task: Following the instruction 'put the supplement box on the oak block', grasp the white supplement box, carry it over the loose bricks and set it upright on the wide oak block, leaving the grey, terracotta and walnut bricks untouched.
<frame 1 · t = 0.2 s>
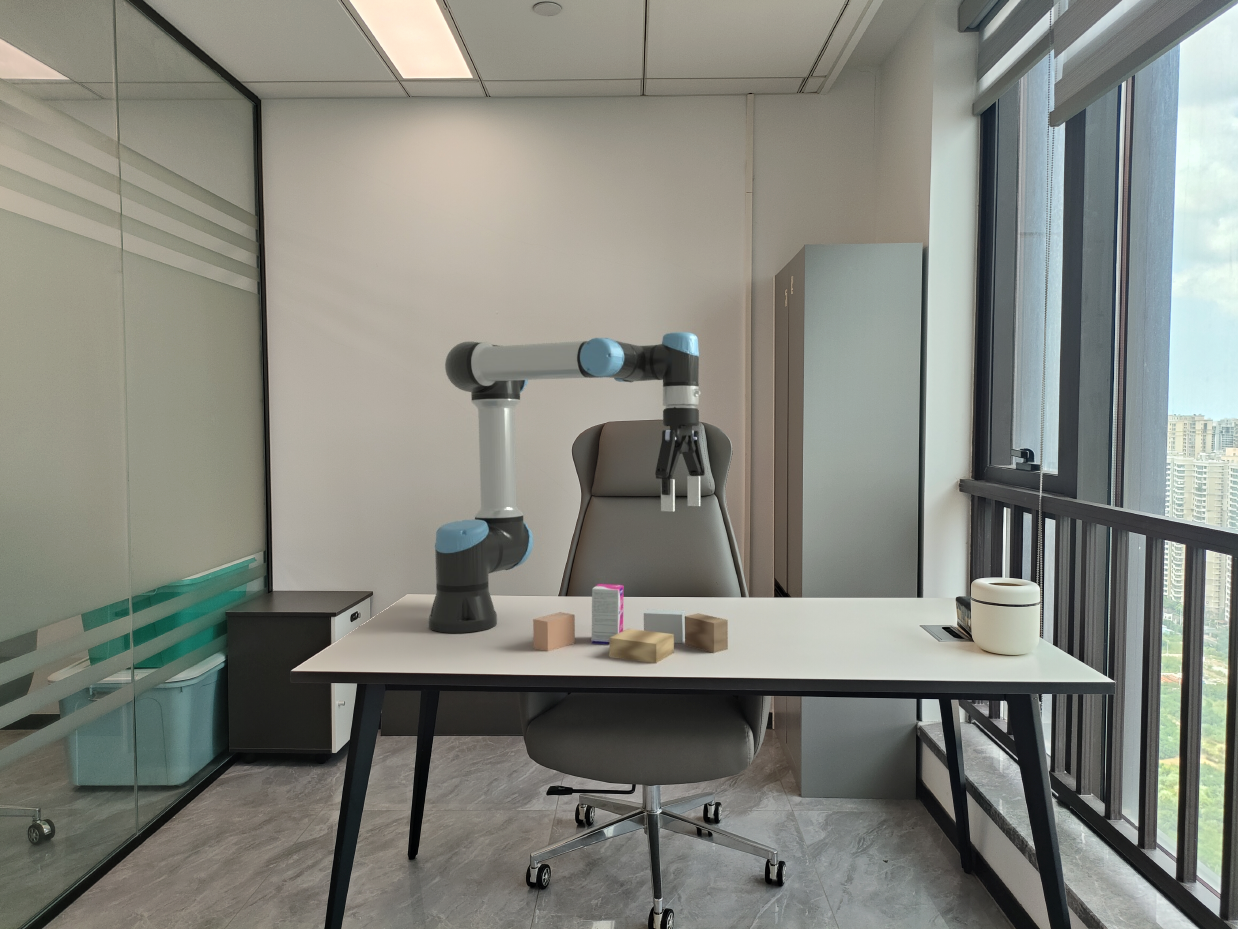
hand: (681, 508, 164), 27 cm above the table, fingers open, 13 cm apart
terracotta brick: (554, 646, 159), on the table
oak block: (641, 656, 152), on the table
grey painted brick: (664, 640, 163), on the table
supplement box: (607, 642, 162), on the table
walnut brick: (706, 647, 157), on the table
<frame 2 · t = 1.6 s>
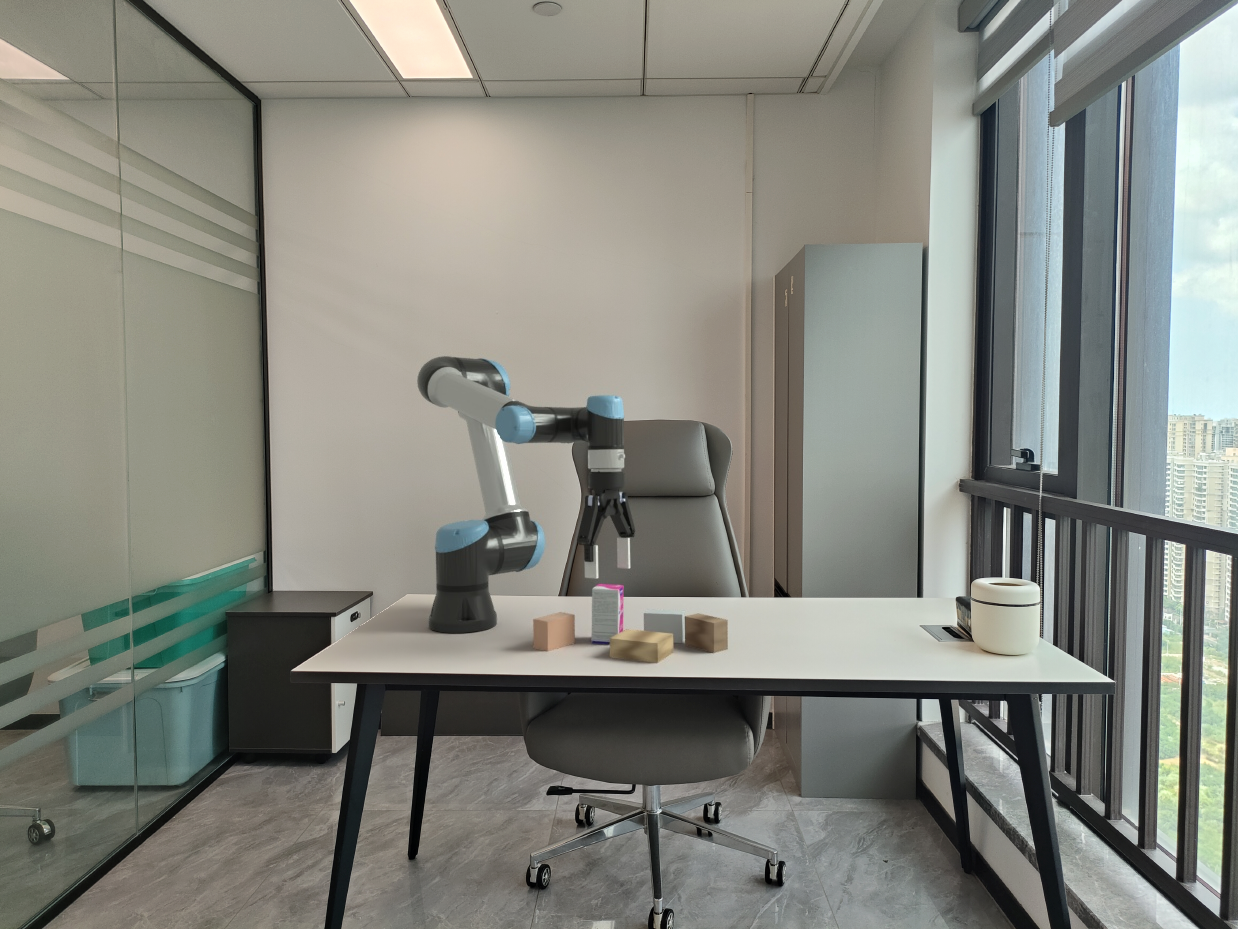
hand: (608, 573, 162), 14 cm above the table, fingers open, 13 cm apart
nothing on the table moved.
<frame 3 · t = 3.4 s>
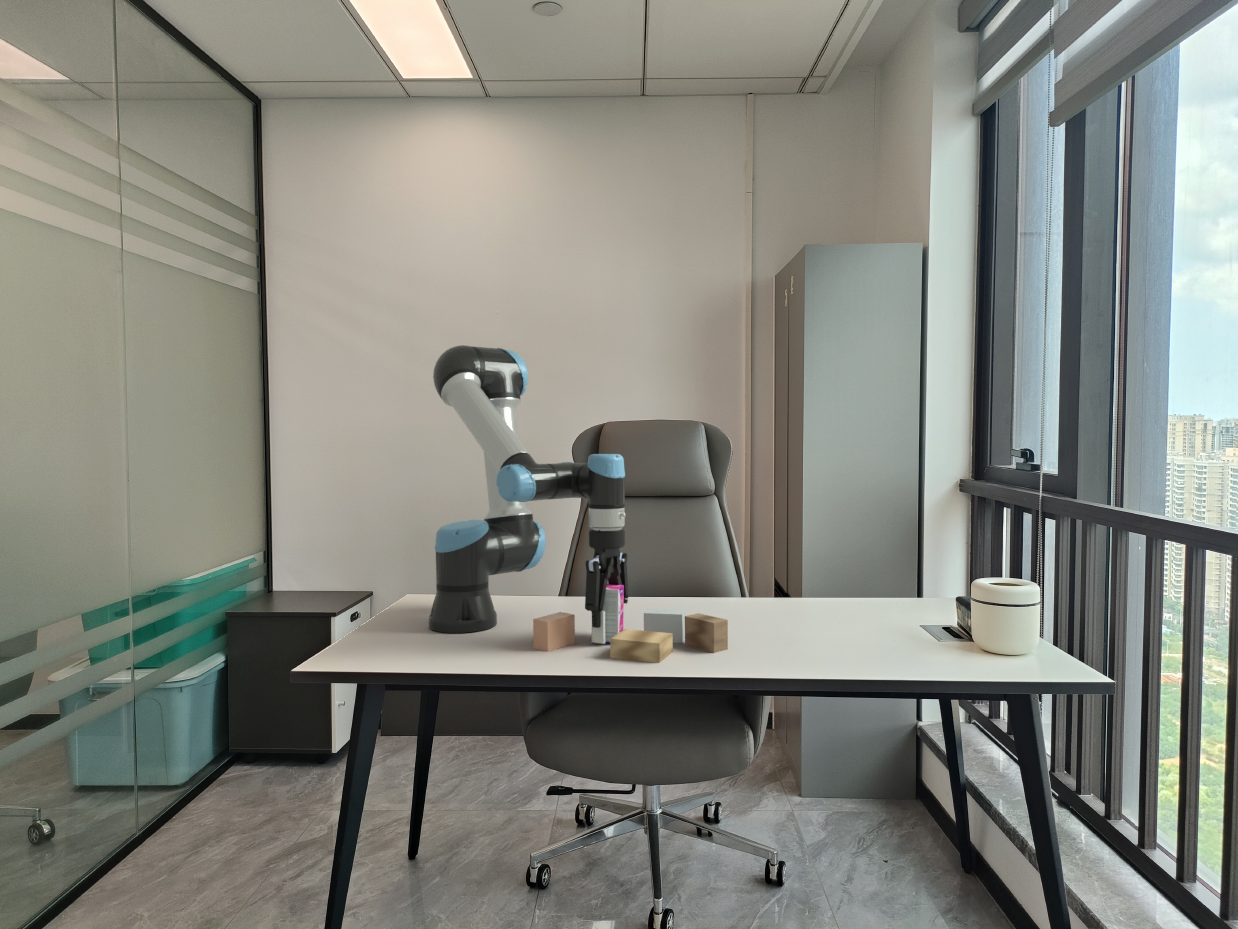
hand: (607, 638, 162), 1 cm above the table, fingers closed on supplement box, 7 cm apart
supplement box: (607, 641, 162), on the table, touching gripper
everything else where it was.
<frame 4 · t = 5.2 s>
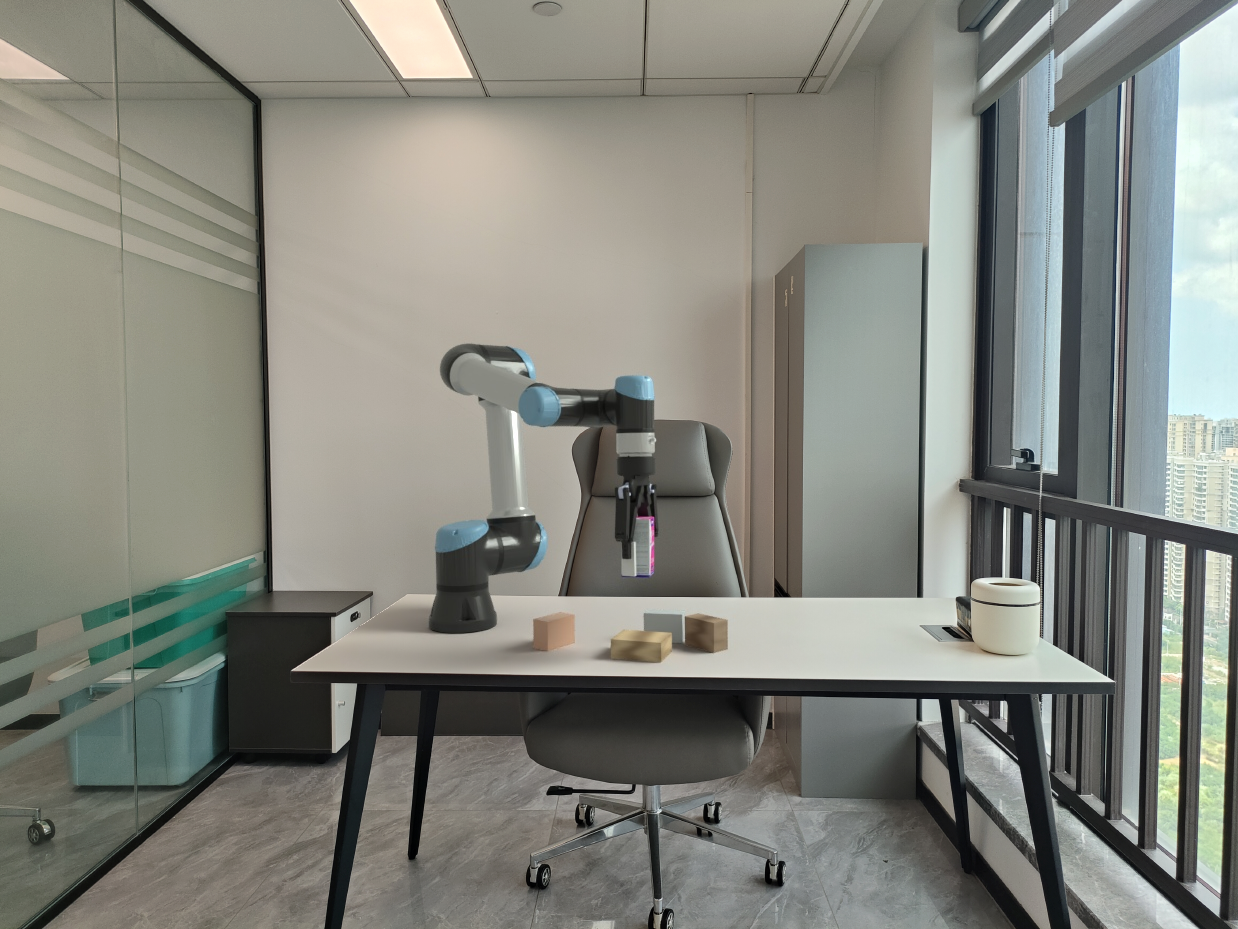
hand: (638, 572, 152), 16 cm above the table, fingers closed on supplement box, 7 cm apart
supplement box: (638, 576, 152), point 15 cm above the table, touching gripper
everything else where it was.
when the fingers open (6 cm above the table, at t = 7.4 s): supplement box drops 2 cm, point 3 cm above the table.
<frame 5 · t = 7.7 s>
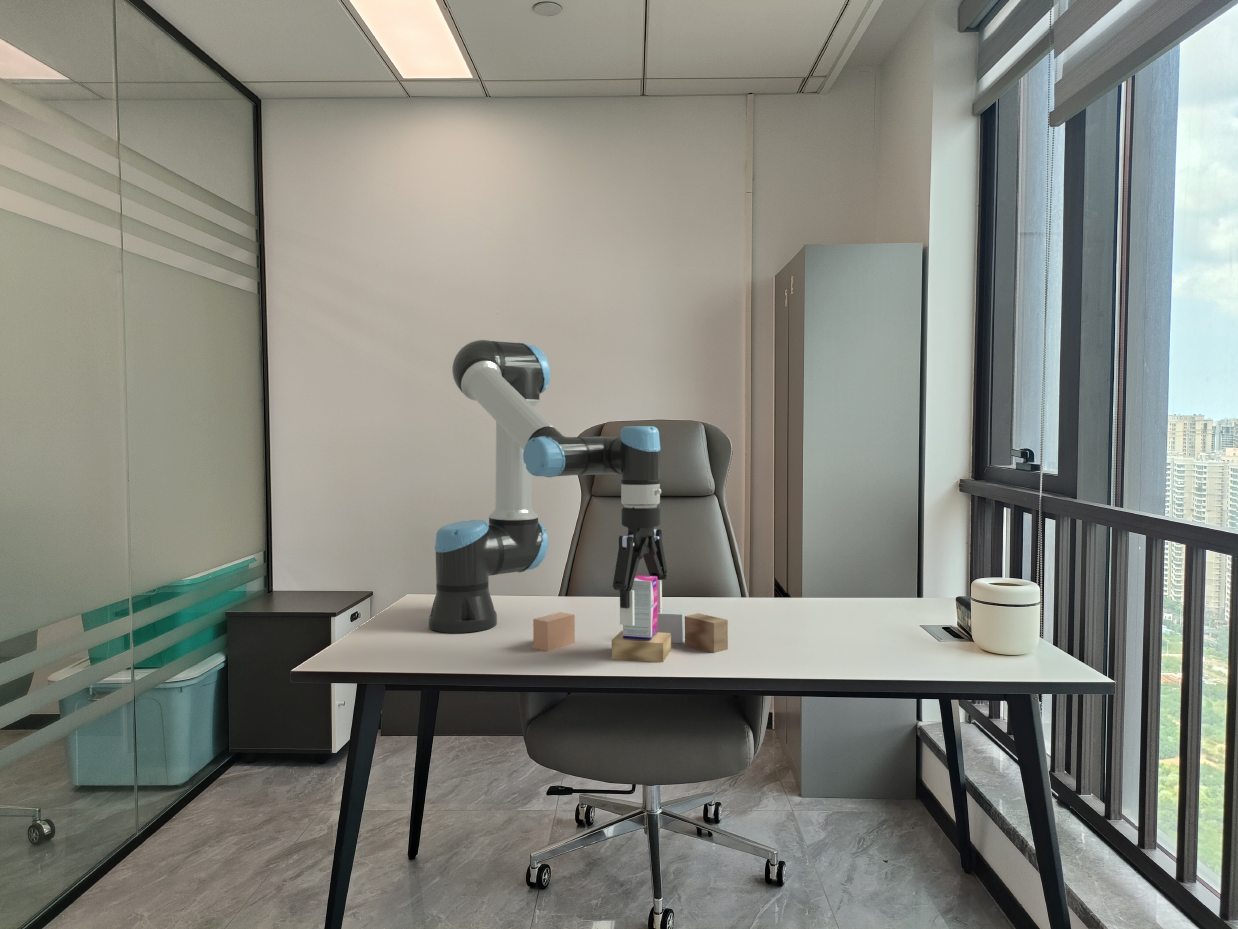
hand: (641, 618, 151), 7 cm above the table, fingers open, 11 cm apart
supplement box: (640, 637, 152), point 3 cm above the table
everything else where it was.
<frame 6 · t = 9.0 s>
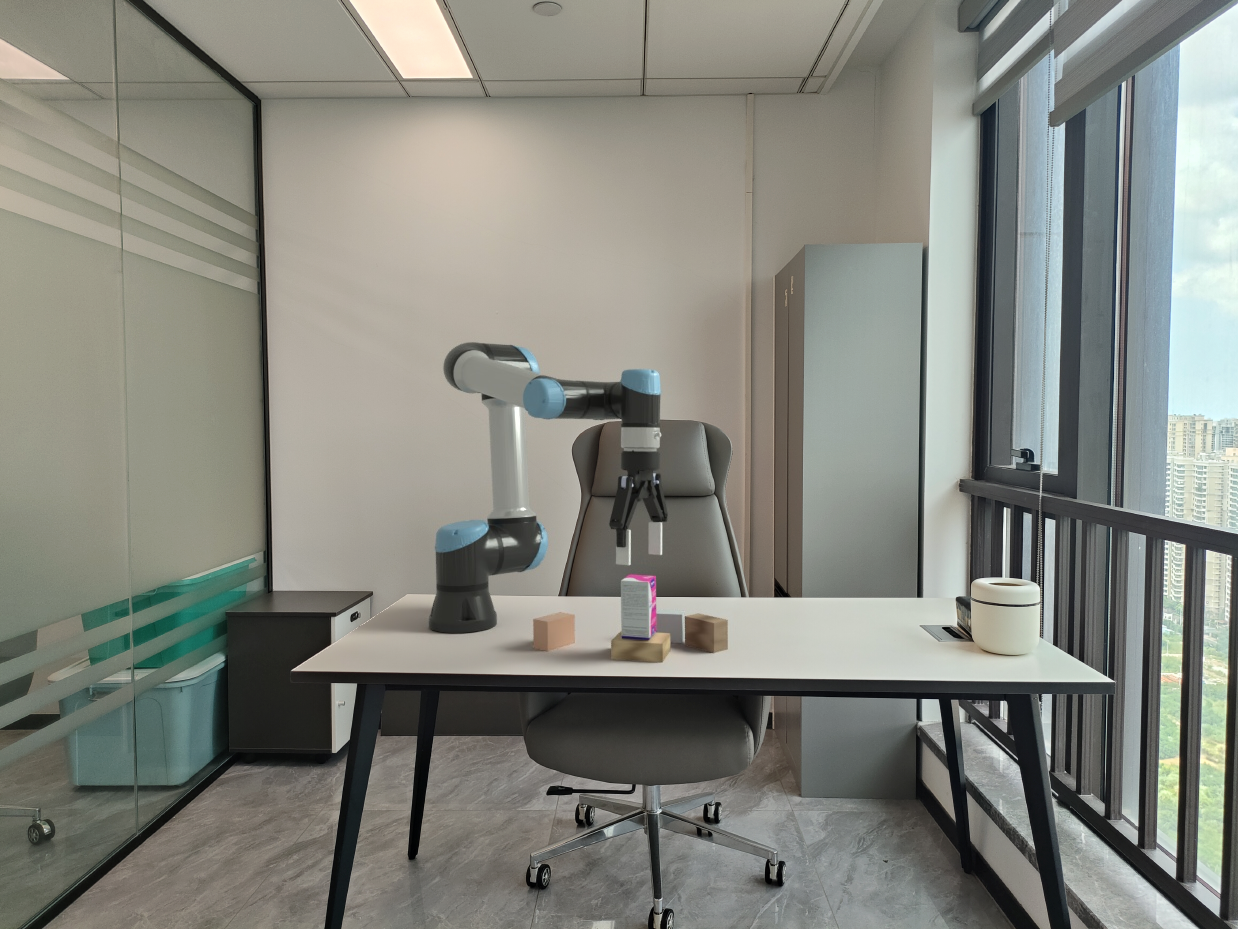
hand: (639, 559, 151), 19 cm above the table, fingers open, 13 cm apart
oak block: (641, 657, 151), on the table, touching supplement box
supplement box: (639, 636, 152), point 3 cm above the table, touching oak block
everything else where it was.
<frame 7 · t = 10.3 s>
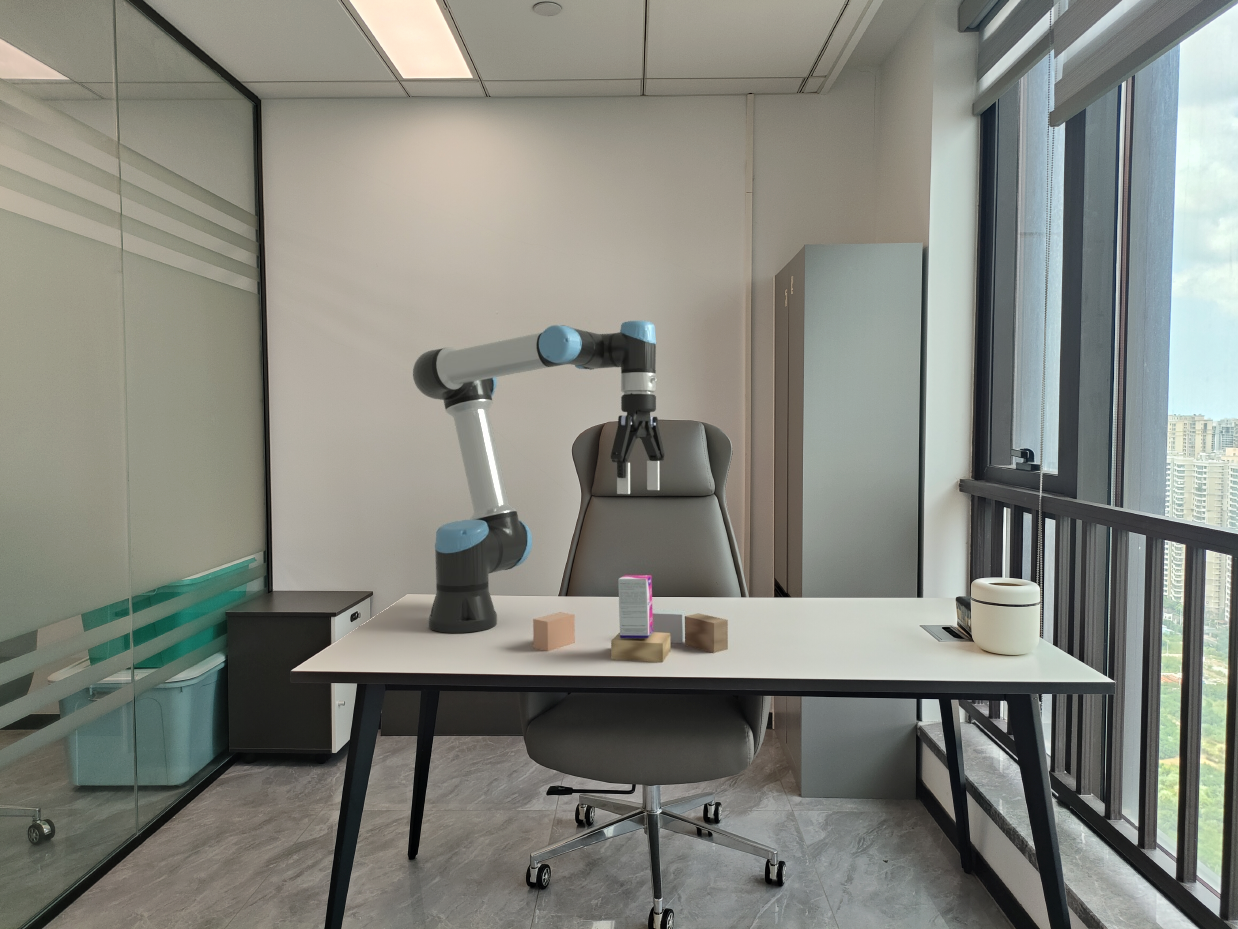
hand: (638, 492, 169), 30 cm above the table, fingers open, 13 cm apart
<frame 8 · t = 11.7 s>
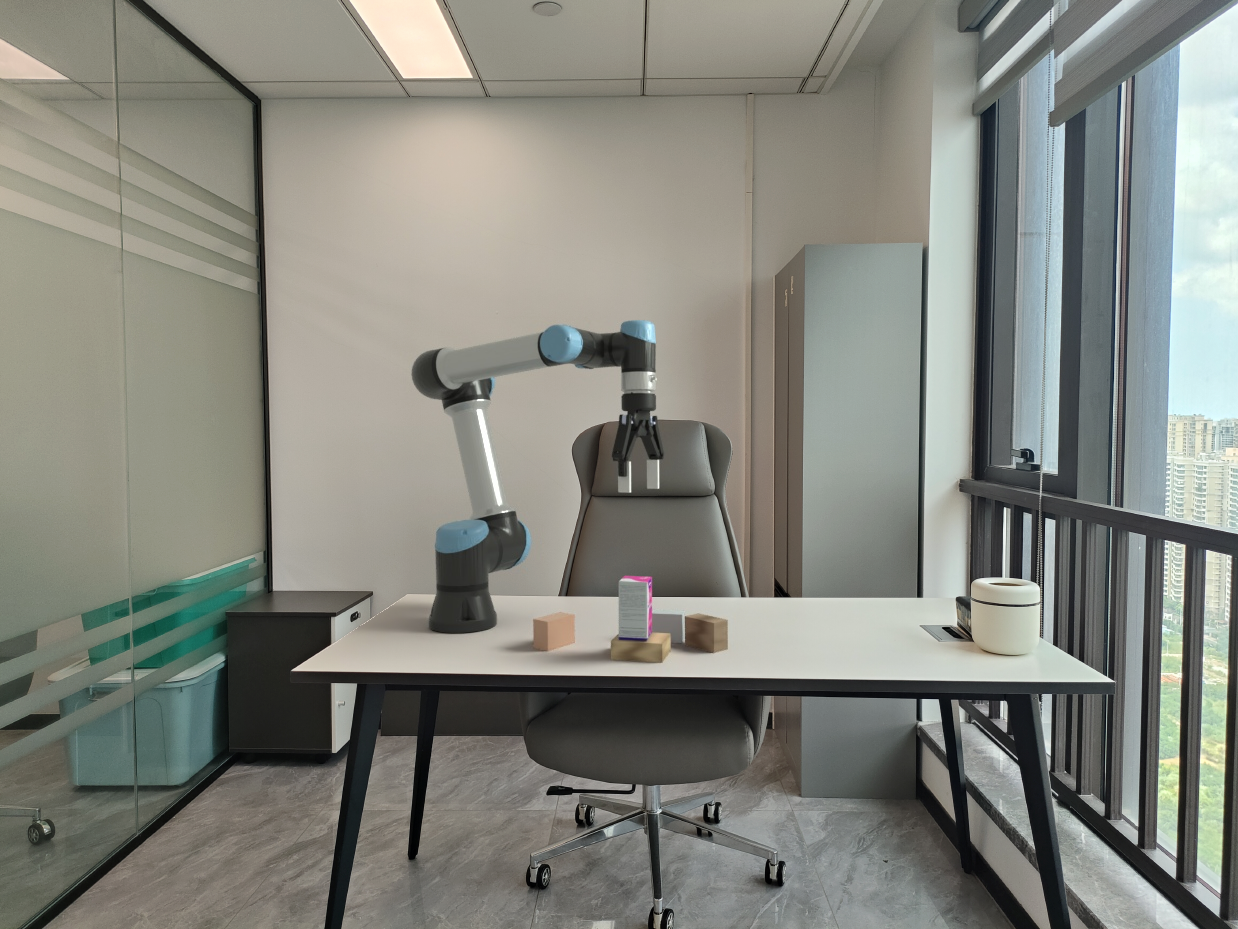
hand: (639, 490, 170), 31 cm above the table, fingers open, 13 cm apart
at the end: supplement box inside the target area on the oak block (0.9 cm from its centre), point 4.0 cm above the oak block's base; supplement box tilted 2°; grey painted brick moved 1.0 cm from its start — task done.
